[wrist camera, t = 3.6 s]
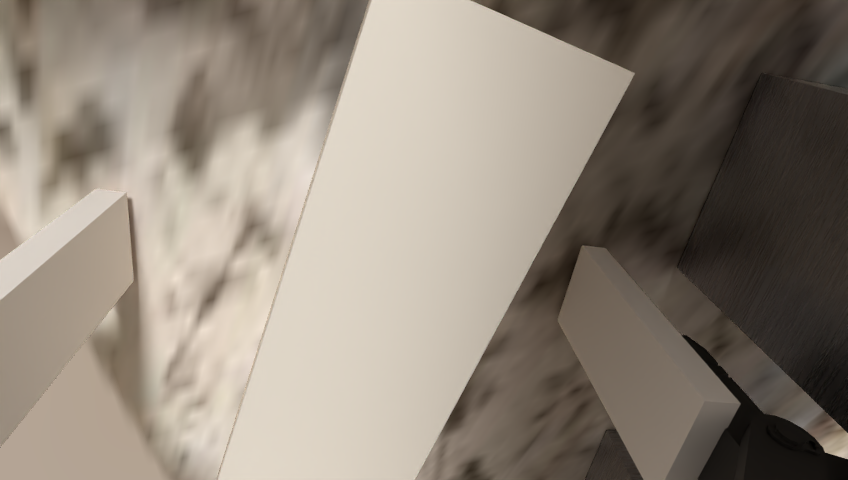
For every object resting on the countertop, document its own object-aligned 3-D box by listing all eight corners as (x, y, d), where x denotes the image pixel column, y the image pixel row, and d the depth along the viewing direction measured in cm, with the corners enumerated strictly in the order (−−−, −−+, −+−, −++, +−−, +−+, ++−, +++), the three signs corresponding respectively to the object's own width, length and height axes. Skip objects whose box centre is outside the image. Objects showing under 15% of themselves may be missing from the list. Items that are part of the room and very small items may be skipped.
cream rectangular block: (379, -33, 12) (383, -38, 7) (530, 33, 13) (635, 73, 8) (241, 400, 18) (184, 584, 12) (354, 425, 19) (346, 605, 13)
